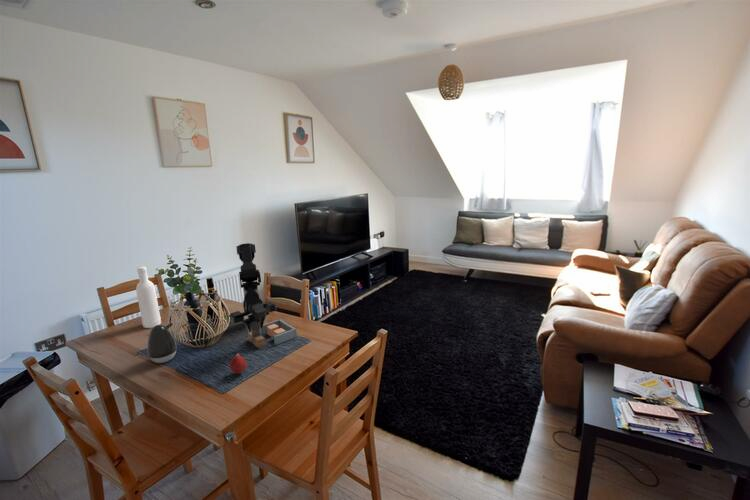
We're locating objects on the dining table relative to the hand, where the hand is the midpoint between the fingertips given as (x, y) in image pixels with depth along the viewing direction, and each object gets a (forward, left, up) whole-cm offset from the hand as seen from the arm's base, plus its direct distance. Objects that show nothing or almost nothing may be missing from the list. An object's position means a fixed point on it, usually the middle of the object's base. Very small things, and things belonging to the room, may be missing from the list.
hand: (255, 330), depth 155 cm
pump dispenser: (-14, -33, -6) cm, 37 cm away
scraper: (0, 0, -6) cm, 7 cm away
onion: (+18, -15, -6) cm, 24 cm away
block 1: (-3, +9, -6) cm, 12 cm away
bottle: (-56, -29, -6) cm, 64 cm away
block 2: (+4, +9, -6) cm, 12 cm away
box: (0, +10, -6) cm, 12 cm away
